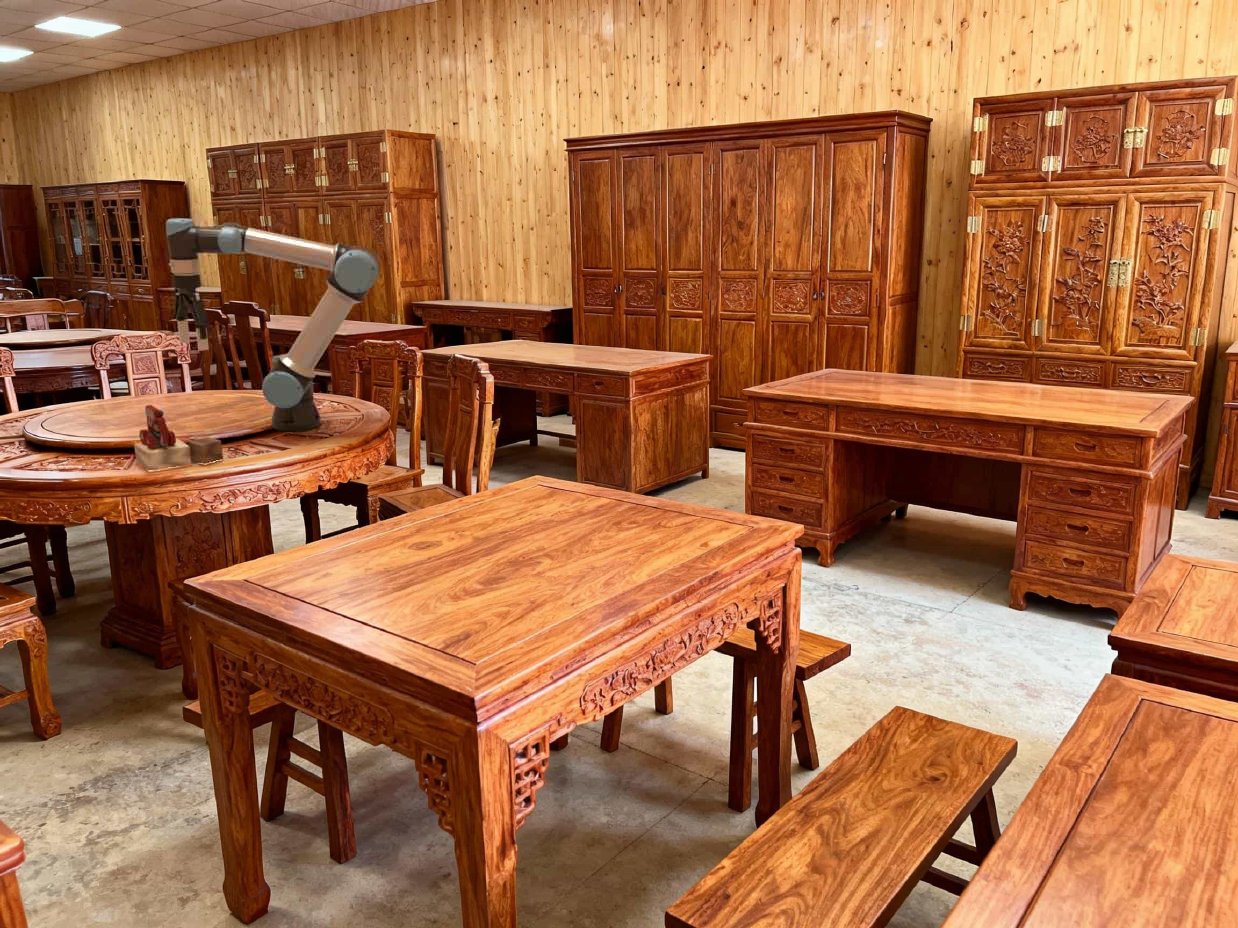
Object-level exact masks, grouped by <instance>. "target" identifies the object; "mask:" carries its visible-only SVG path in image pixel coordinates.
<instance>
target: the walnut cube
mask: <svg viewBox="0 0 1238 928" xmlns="http://www.w3.org/2000/svg"><path fill="white" fill-rule="evenodd" d="M188 446H189V448H190V456H191V463H193V462H196V463H195V464H197V463H204V464H205V463H209V462H213V461H216V460H220V459H223V460H224V457H223V448H222V441H221V440H219V439H215V438H212V437H208V436H205V437H202V438H198V439H194V440H191V441H188Z"/></svg>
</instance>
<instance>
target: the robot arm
mask: <svg viewBox="0 0 1238 928" xmlns="http://www.w3.org/2000/svg"><path fill="white" fill-rule="evenodd" d="M165 227H166V228H165V230H166V236H165V237H166V240H167V248H168V255H169V263H168V266H169V267H170V272H171V273H172V275H171V282H172V287H173V288H174V299H173V300H174V303H173V318H174V319H176V322H177V329H178V330H177V331H178V337H179V343H180V344H183V343H191V339H190V338H191V337H190V330H189V329H190V328H189V322H188V321H189V318H188V316H187V315H188V312H189V310H190V312H191V315H192V317H193V320H194V323H195V327H194V328H195V332H196V333H195V334H196V341H197V350H198V351H199V352H200V351H207V350H208V351H209V340H208V339H209V338H208V329H207V328H208V327H210V325H211V324H210V321H209V318H208V314H207V310H206V307H205V304H204V300H203V295H202V292H197V290H196V289H198V288H201V287H202V280H201V275H200V274H199V273H200V271H201V270H200V261H199V254H219V255H220V254H224V255H225V254H226V255H230V254H240V252H242V253H247V254H253V255H257V256H260V257H261V256H262V257H267V258H271V259H277V260H280V261H285V262H289V263H294V264H297V265H299V264H300V265H304V266H308V267H313V268H317V269H323V270H327V271H330V272H331V273H330V274H329V276H328V278H327V279H326V284H327V289H326V290H325V293H324V295H323V296H322V297H321V299H320V301H319V303H318V304H317V305H316V307H315V308H314V310H313V312H312V314H311V315H310V316H309V319H308V320H307V322H306V324H305V325H304V327H303V328H302V330H301V332H300V333H299V335H298V336H297V337H296V340H295V341H294V343H293V344H292V346H291V347H290V349H289V351H288V352H287V353H285V354H278V355H274V356H273V357H272V359H271V361H272V362H271V365H272V368H271V370H270V371H269V373H268V375H266V376H265V377H264V379H263V381H262V387H261V390H262V394H263V397H264V398H265V400H266V401H267V402H268V403H269V404H270V405H272V406H274V408H273V412H272V416H271V421H270V422H271V426H272V425H273V427H272V428H273V429H275V430H278V431H282V432H283V431H284V432H301V431H303V432H304V431H308V430H313V429H316V428H318V427H320V426H321V425H322V418H321V415H320V413H319V410H318V408H317V405H316V403H315V398H314V384H313V380H314V379H315V377H316V374H315V372H316V371H315V367H316V365H317V364H318V362H319V361H320V359H321V357H322V356H323V355H324V353H325V351H326V349H327V348H328V346H329V345H330V343H331V341H332V340H333V339H334V337H335V336H336V334H337V332H338V331H339V329H340V327H341V326H342V324H343V322H344V321H345V320H346V318H347V317H348V315H349V313H350V311H351V309H352V308H353V306H355V304H359V303H362V302H363V301H364V299H365V297H366V296H367V294H368V293H369V291H370V289H371V288H372V287H373V286H374V284H375V283H376V280H377V279H378V277H379V276H380V273H381V271H380V270H381V263H380V259H379V257H378V256H377V255H376V253H375V252H374V251H372V250H371V249H369V248H368V247H364V246H358V245H350V244H343V243H339V242H338V243H336V244H335V245H331V244H328V243H327V244H326V243H322V242H318V241H313V240H308V239H303V238H299V237H295V236H291V235H285V234H282V233H281V234H280V233H275V232H271V231H266V230H262V229H257V228H253V227H247V226H244V225H243V226H242V225H240V224H238V223H236V222H230V221H228V222H224V223H222V224H220V225H217V226H198V225H196V224H195V220H194V219H192V218H181V217H180V218H178V217H177V218H170V219H167V220H166V222H165Z"/></svg>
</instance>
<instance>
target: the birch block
mask: <svg viewBox="0 0 1238 928" xmlns="http://www.w3.org/2000/svg"><path fill="white" fill-rule="evenodd" d="M133 446H134V453H135V461H136V464H137V465H139V466H140V467H141V466H142V467H141V468H143V467H144V468H145V469H148V470H158V469H164V468H168V467H176V466H183V465H188V464H191V465H192V462H191V456H190V448H189V444H187V443H185V442H184V441H183V440H181V439H179V438H178V437H176V443H175V445H168V444H167V445H162V444H158V445H156V447H155V448H152V449H149V448H148V447H147V444H143V443H142V442H138V443H134V444H133ZM144 468H143V469H144ZM145 469H144V470H145Z"/></svg>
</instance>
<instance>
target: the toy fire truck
mask: <svg viewBox="0 0 1238 928" xmlns="http://www.w3.org/2000/svg"><path fill="white" fill-rule="evenodd" d="M144 408H145V409H144V410H145V415H146V424H147V425H146V426H147V429H145V428H144V429H140V430H139V439H140V441H141V442H140V443H143V444H147V447H148V448H149V449H152V448H155V447H156V445H158V444H162V445H167V444H168V445H175V443H176V438H177V437H176V434H175V433H174V431H172V430H170V429H169V428H168V426H167V422H166V419H165V417H164V412H163V410H160V409H158V408H157V407H155V406H154V405H152V404H148V405H145V406H144Z"/></svg>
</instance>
